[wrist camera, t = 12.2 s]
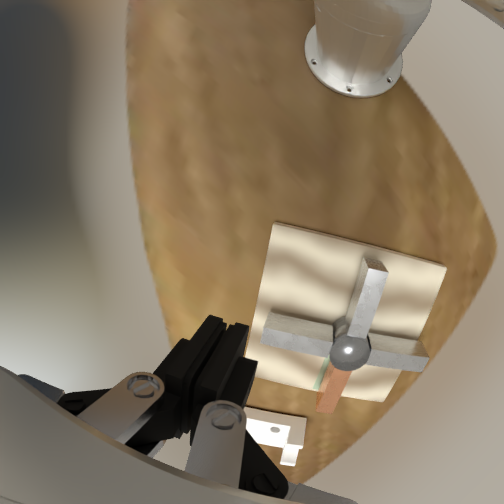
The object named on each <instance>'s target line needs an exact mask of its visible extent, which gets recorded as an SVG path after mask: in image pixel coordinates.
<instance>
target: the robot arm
mask: <svg viewBox="0 0 504 504" xmlns="http://www.w3.org/2000/svg"><path fill="white" fill-rule="evenodd" d="M431 1H432V0H314V7H315V21H316V24H315V25H314V26H313V27H312V28H311V29H310V31H309V33H308V34H307V37H306V40H305V57H306V60H307V64H308V66H309V68H310V69H311V71H312V73H313V74H314V75H315V77H316V78H317V79H318V80H319V81H320V82H321V83H322V84H324V85H325V86H326V87H328V88H329V89H331V90H333V91H335V92H337V93H339V94H342V95H345V96H349V97H355V98H370V97H374V96H378V95H380V94H382V93H385V92H386V91H388V90H389V89H390V88H391V87H392V86H393V85H394V84H395V83H396V82H397V80H398V78H399V77H400V74H401V71H402V65H403V64H402V63H403V60H402V51H403V50H404V49H405V47H406V46H407V44H408V43H409V41H410V40H411V39H412V37H413V36H414V34H415V33H416V31H417V30H418V29H419V27H420V26H421V24H422V23H423V21H424V20H425V18H426V17H427V15H428V13H429V11H430V7H431ZM462 1H463V2H465V3H467V4H468V5H470V6H471V7H473V8H474V9H476V10H477V11H479V12H480V13H482V14H483V15H485V16H486V17H488V18H489V19H490V20H492V21H493V22H495V23H496V24H498V25H499V26H500V27H502V28H503V29H504V0H462ZM312 63H316V65H313V64H312ZM387 80H389V81H390V83H389V82H387ZM347 89H350V90H351V92H348V91H347ZM226 327H227V323H224V322H223V319H222V318H219V317H216V316H213V315H209V316H208V317H207V318H206V320H205V321H204V322H203V324H202V325H201V326H200V328H199V329H198V330H197V332H196V333H195V334H194V336H193V337H192V338H191V340H187V339H184V338H182V339H181V340H180V341H179V342H178V343H177V344H176V345H175V347H174V348H173V349H172V350H171V352H170V353H169V354H168V355H167V357H166V358H165V359H164V360H163V361H162V363H161V364H160V365H159V367H158V368H157V369H156V370H155V371H154V373H153V374H151V373H147V372H136V373H132V374H130V375H129V376H127V377H126V378H125V379H123V380H122V381H121V382H120V383H118V384H117V385H116V386H114V387H113V388H110V389H103V390H93V391H82V392H72V393H67V394H65V392H64V390H62V389H59V388H57V387H54V386H52V385H49V384H47V383H45V382H42V381H40V380H38V379H35V378H33V377H31V376H29V375H25V374H20V375H16V374H15V373H13V372H11V371H10V370H8V369H6V368H4V367H2V366H0V504H358V503H356V502H355V501H353V500H351V499H348V498H344V497H341V496H337V495H334V494H330V493H327V492H324V491H321V490H318V489H315V488H312V487H309V486H306V485H303V484H301V483H299V484H298V485H296V484H293V483H291V482H288V481H287V479H286V478H285V476H284V475H283V474H282V473H281V472H280V470H279V469H278V468H277V467H276V466H275V465H274V463H273V462H272V461H271V460H270V459H269V457H268V456H267V455H266V454H265V452H264V451H263V450H262V449H261V447H260V446H259V445H258V444H257V442H256V441H255V440H254V439H253V437H252V436H251V435H250V433H249V432H248V431H247V430H246V423H247V417H246V414H245V412H244V407H245V404H246V402H247V399H248V396H249V393H250V390H251V387H252V384H253V380H254V377H255V373H256V369H257V365H258V361H256V360H252V359H249V358H245V357H243V355H244V351H245V346H246V341H247V336H248V332H249V326H248V325H244V324H240V323H237V322H236V323H235V325H231V324H230V325H229V327H228V329H227V330H226ZM190 429H191V431H190ZM189 431H190V432H191V433H190V446H191V450H190V453H189V457H188V460H187V464H186V467H185V471H182V470H179V469H177V468H174V467H172V466H169V465H167V464H165V463H162V462H160V461H158V460H155V459H153V457H154V456H155V455H156V454H157V452H158V451H159V450H160V449H161V448H162V447H163V446H164V444H165V442H166V440H167V439H171V438H174V437H176V438H179V439H180V437H181V436H182V434H183V433H186V434H187V433H188V432H189Z"/></svg>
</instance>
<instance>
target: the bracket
mask: <svg viewBox="0 0 504 504" xmlns="http://www.w3.org/2000/svg"><path fill="white" fill-rule="evenodd" d="M244 412H245V414H246V417H247V423H246V430H247V431H248V432H249V433H250V435H251V436H252V437H253V439H254V440H255V441H256V442H257V443H260V444H265V445H270V446H276V447H281V448H283V452H282V457H281V462H280V464H283V465H289V466H295V463H296V458H297V454H298V451H299V449H302V447H303V443H304V435H305V427H306V419H307V418H302V417H296V416H290V415H284V414H278V413H273V412H268V411H263V410H258V409H253V408H248V407H244Z"/></svg>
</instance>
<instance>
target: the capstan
mask: <svg viewBox="0 0 504 504" xmlns="http://www.w3.org/2000/svg"><path fill="white" fill-rule="evenodd" d="M388 274H389V272H388V270H387V269H386V267H385V266H384V264H383V262H382V261H378V260H374V259H370V258H365V257H363V260H362V264H361V268H360V271H359V275H358V278H357V282H356V285H355V288H354V292H353V295H352V298H351V301H350V305H349V308H348V311H347V314H346V316H345V317H341V318H339V319H337V320H336V321H335V322H334V323H333V324H332V325H327V324H322V323H317V322H312V321H307V320H303V319H298V318H294V317H289V316H285V315H280V314H276V313H272V312H269V314H268V316H267V319H266V322H265V324H264V327H263V332H262V337H261V341H260V343H261V344H265V345H269V346H273V347H278V348H282V349H287V350H291V351H296V352H300V353H305V354H310V355H315V356H320V357H325V358H328V355H329V356H330V362H329V365H328V367H327V370H326V372H325V375H324V377H323V380H322V382H321V385H320V387H319V390H318V392H317V402H316V411H317V412H323V413H329V414H332V412H333V410H334V408H335V406H336V404H337V402H338V400H339V398H340V396H341V394H342V392H343V390H344V388H345V386H346V384H347V381H348V379H349V377H350V375H351V373H352V371H353V370H356V369H359V368H361V367H362V366H363V365H371V366H377V367H384V368H392V369H399V370H407V371H416V372H422V371H423V369H424V367H425V365H426V364H427V362H428V360H429V356H428V354H427V351H426V349H425V347H424V345H423V343H422V342H421V341H415V340H409V339H402V338H396V337H390V336H385V335H379V334H373V333H368V332H369V329H370V326H371V324H372V321H373V318H374V315H375V313H376V310H377V307H378V304H379V301H380V298H381V295H382V292H383V289H384V286H385V283H386V280H387V277H388Z"/></svg>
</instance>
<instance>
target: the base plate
mask: <svg viewBox="0 0 504 504" xmlns="http://www.w3.org/2000/svg"><path fill="white" fill-rule="evenodd" d="M363 257H365V258H370V259H374V260H378V261H382V262H383V264H384V266H385V267H386V269H387V270H388V272H389V274H388V277H387V280H386V283H385V286H384V289H383V292H382V295H381V298H380V301H379V304H378V307H377V310H376V313H375V315H374V318H373V321H372V324H371V326H370V329H369V332H368V333H373V334H379V335H385V336H390V337H396V338H402V339H409V340H415V341H417V340H418V338H419V335H420V333H421V331H422V329H423V327H424V325H425V322H426V320H427V318H428V316H429V313H430V311H431V309H432V306H433V304H434V301H435V299H436V296H437V294H438V291H439V289H440V286H441V283H442V281H443V278H444V275H445V272H446V269H447V268H446V267H445V266H444V265H443V264H439V263H436V262H432V261H429V260H425V259H421V258H418V257H414V256H411V255H407V254H403V253H399V252H396V251H392V250H388V249H384V248H381V247H377V246H373V245H369V244H365V243H361V242H357V241H354V240H350V239H346V238H342V237H338V236H333V235H329V234H325V233H321V232H317V231H313V230H309V229H304V228H300V227H296V226H292V225H287V224H283V223H279V222H274V223H273V227H272V232H271V237H270V242H269V247H268V252H267V257H266V262H265V266H264V271H263V276H262V281H261V286H260V291H259V295H258V300H257V305H256V310H255V314H254V319H253V324H252V328H251V333H250V338H249V342H248V347H247V351H246V356H245V358H249V359H252V360H256V361H258V365H257V369H256V373H255V377H259V378H262V379H266V380H270V381H274V382H278V383H282V384H286V385H291V386H295V387H299V388H304V389H309V390H313V391H318V390H319V387H320V385H321V382H322V380H323V377H324V375H325V372H326V370H327V367H328V365H329V362H330V356H329V355H328V358H325V357H320V356H315V355H310V354H305V353H300V352H296V351H291V350H287V349H282V348H278V347H273V346H269V345H265V344H261V343H260V341H261V337H262V332H263V327H264V324H265V322H266V319H267V316H268V314H269V312H272V313H276V314H280V315H285V316H289V317H294V318H298V319H303V320H307V321H312V322H317V323H322V324H327V325H332V324H333V323H334V322H335V321H336V320H337V319H339V318H341V317H345V316H346V314H347V311H348V308H349V305H350V301H351V298H352V295H353V292H354V288H355V285H356V282H357V278H358V275H359V271H360V268H361V264H362V260H363ZM401 371H402V370H399V369H392V368H384V367H377V366H371V365H363V366H362V367H361V368H359V369H356V370H353V371H352V373H351V375H350V377H349V379H348V381H347V384H346V386H345V388H344V390H343V392H342V394H341V396H345V397H351V398H358V399H364V400H371V401H379V402H383V401H384V400H385V398H386V397H387V395H388V393H389V392H390V390H391V388H392V387H393V385H394V383H395V381H396V380H397V378H398V376H399V374H400V372H401Z"/></svg>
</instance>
